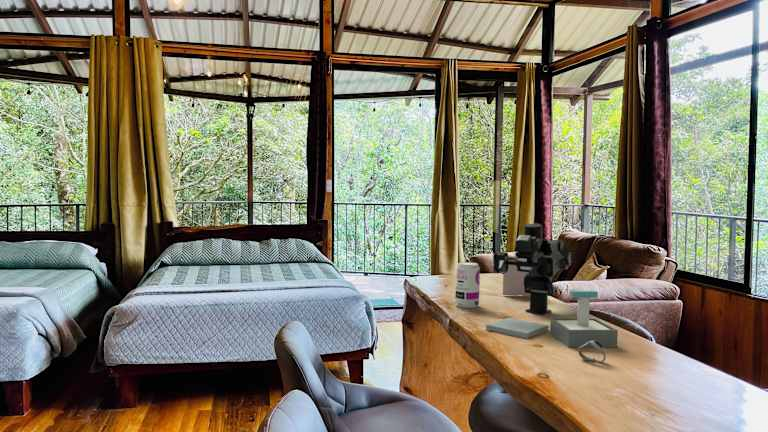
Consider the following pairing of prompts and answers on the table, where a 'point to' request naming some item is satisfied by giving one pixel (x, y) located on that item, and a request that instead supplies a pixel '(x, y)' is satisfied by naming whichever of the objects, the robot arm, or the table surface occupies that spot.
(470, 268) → the supplement can
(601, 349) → the wristwatch
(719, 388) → the table surface
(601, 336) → the housing
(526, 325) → the pad
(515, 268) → the greeting card
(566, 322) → the cover
